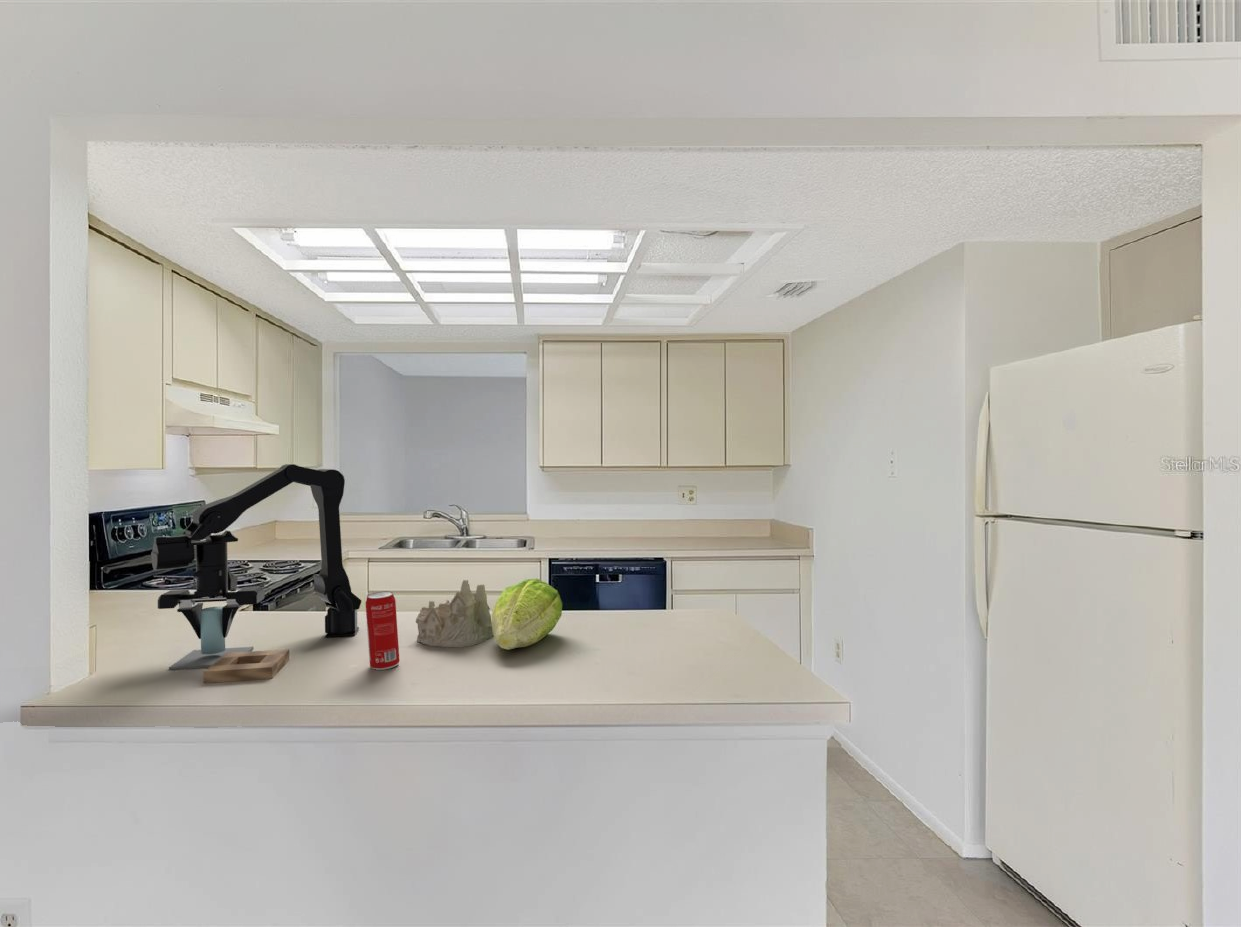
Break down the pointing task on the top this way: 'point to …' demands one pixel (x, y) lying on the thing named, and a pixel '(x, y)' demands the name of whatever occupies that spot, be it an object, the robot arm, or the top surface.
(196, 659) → the mat
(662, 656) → the top surface
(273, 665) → the pocket block
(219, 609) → the peg
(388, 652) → the beverage can
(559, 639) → the top surface
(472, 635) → the ceramic cottage
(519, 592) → the lettuce
